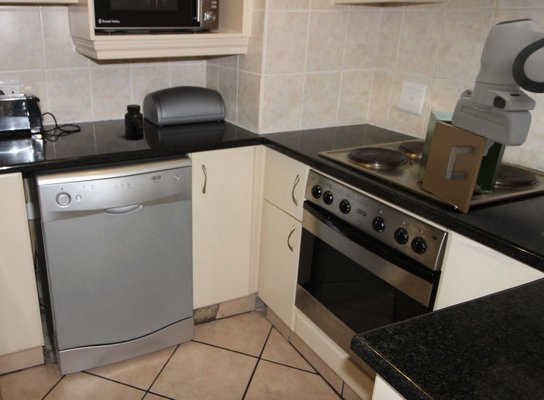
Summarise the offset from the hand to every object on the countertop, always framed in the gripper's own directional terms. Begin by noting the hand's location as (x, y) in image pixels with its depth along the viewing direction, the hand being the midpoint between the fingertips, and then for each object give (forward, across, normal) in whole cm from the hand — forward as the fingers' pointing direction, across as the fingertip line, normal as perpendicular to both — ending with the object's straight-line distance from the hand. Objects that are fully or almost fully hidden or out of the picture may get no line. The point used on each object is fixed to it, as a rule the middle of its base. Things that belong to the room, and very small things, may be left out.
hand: (478, 154), depth 113 cm
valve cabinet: (+14, -17, +9) cm, 24 cm away
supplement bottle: (+14, -74, -79) cm, 109 cm away
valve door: (+14, -6, -4) cm, 16 cm away
